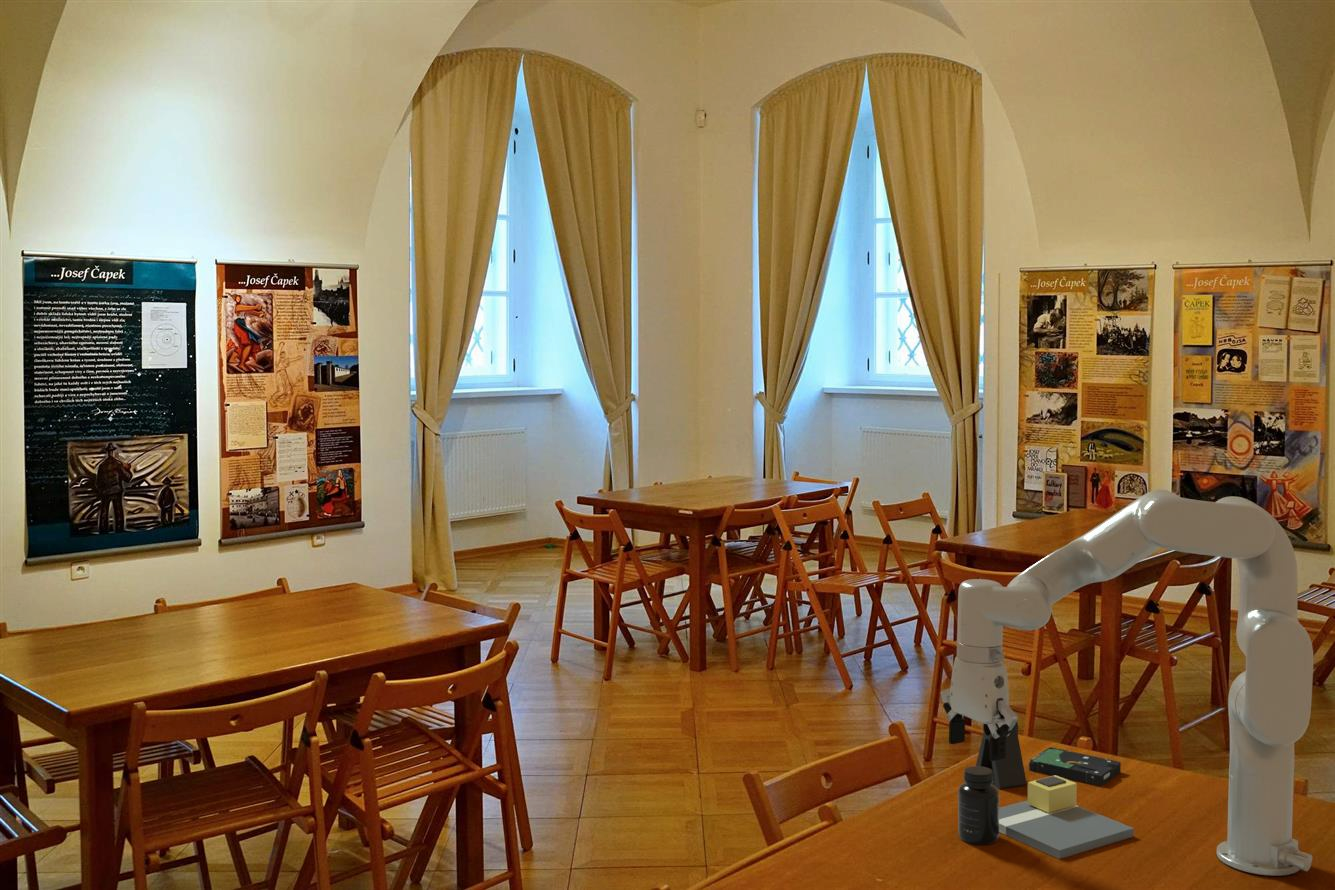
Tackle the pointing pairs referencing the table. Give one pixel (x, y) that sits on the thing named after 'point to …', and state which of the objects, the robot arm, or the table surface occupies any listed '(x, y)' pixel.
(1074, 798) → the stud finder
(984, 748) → the phone stand
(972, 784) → the supplement bottle
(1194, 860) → the table surface
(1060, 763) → the disk drive
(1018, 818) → the board
